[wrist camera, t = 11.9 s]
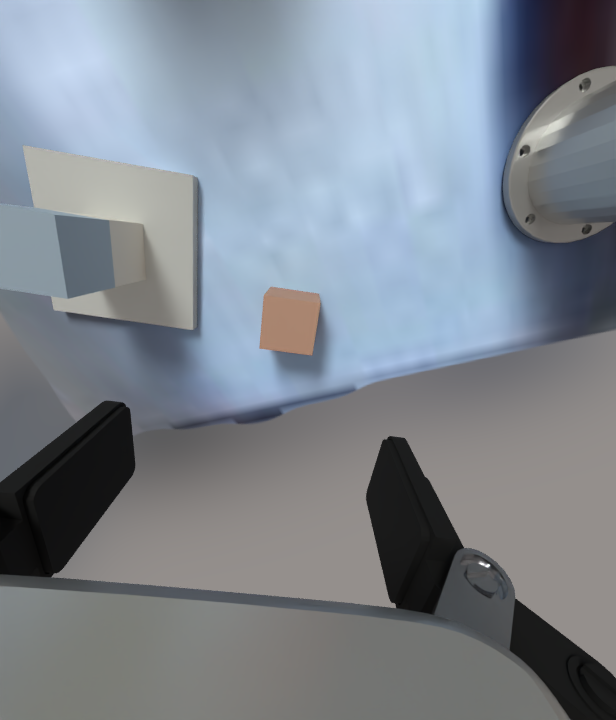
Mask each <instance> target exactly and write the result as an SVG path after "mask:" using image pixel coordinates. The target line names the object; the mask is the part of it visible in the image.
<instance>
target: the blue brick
mask: <svg viewBox="0 0 616 720" xmlns="http://www.w3.org/2000/svg"><path fill="white" fill-rule="evenodd" d="M0 288H1V289H8V290H14V291H20V292H27V293H33V294H40V295H46V296H52V297H59V298H65V299H69V298H74V297H78V296H82V295H86V294H90V293H94V292H99V291H103V290H107V289H111V288H115V279H114V269H113V258H112V247H111V236H110V226H109V220H104V219H98V218H93V217H87V216H81V215H75V214H70V213H64V212H58V211H53V210H47V209H41V208H34V207H26V206H18V205H9V204H1V203H0Z"/></svg>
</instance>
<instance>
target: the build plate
mask: <svg viewBox="0 0 616 720" xmlns="http://www.w3.org/2000/svg"><path fill="white" fill-rule="evenodd" d="M23 150H24V155H25V161H26V166H27V171H28V177H29V182H30V187H31V192H32V198H33V203H34V208H41V209H47V210H55V211H63V212H71V213H79V214H87V215H93V216H99V217H105V218H111V219H117V220H123V221H130V222H136V223H142V224H143V235H144V251H145V268H146V280H142V281H138V282H134V283H130V284H126V285H121V286H117V287H115V288H111V289H107V290H103V291H99V292H94V293H90V294H86V295H82V296H78V297H74V298H69V299H65V298H59V297H52V296H51V298H52V303H53V308H54V310H57V311H64V312H71V313H78V314H85V315H92V316H99V317H106V318H112V319H119V320H126V321H133V322H140V323H147V324H154V325H161V326H168V327H174V328H181V329H188V330H194V329H195V328H196V327H197V233H198V178H197V177H195V176H193V175H188V174H182V173H177V172H171V171H165V170H160V169H154V168H148V167H143V166H137V165H131V164H126V163H120V162H114V161H109V160H103V159H97V158H92V157H86V156H80V155H75V154H69V153H63V152H58V151H52V150H46V149H41V148H35V147H29V146H24V145H23Z"/></svg>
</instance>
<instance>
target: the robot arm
mask: <svg viewBox="0 0 616 720" xmlns="http://www.w3.org/2000/svg"><path fill="white" fill-rule="evenodd" d="M519 153H520V154H519ZM503 195H504V203H505V206H506V209H507V212H508V215H509V217H510V218H511V220H512V222H513V223H514V225H515V226H516V227H517V228H518V229H519V230H520V231H521V232H522V233H523V234H525V235H526V236H528V237H530V238H532V239H534V240H537V241H541V242H547V243H569V242H573V241H578V240H582V239H585V238H587V237H589V236H592V235H594V234H597V233H598V232H600V231H602V230H603V229H605V228H607V227H608V226H610V225H611V224H612V223H614V222H616V66H609V67H603V68H597V69H594V70H591V71H589V72H586V73H584V74H581V75H579V76H577V77H575V78H574V79H572V80H570V81H569V82H567V83H565V84H563V85H562V86H561V87H559V88H558V89H557V90H555V91H554V92H552V93H551V94H550V95H548V96H547V97H546V98H545V99H544V100H543V101H542V102H541V103H540V104H539V105H538V106H537V107H536V108H535V109H534V110H533V112H532V113H531V114H530V116H529V117H528V118H527V120H526V121H525V122H524V123H523V125H522V127H521V129H520V130H519V132H518V134H517V136H516V137H515V139H514V141H513V144H512V146H511V149H510V152H509V154H508V157H507V161H506V165H505V170H504V176H503ZM134 470H135V456H134V446H133V435H132V425H131V414H130V409H129V408H128V407H126V405H125V404H124V403H123V402H115V401H104V402H102V403H101V404H99V405H98V406H97V407H96V408H94V409H93V410H92V411H91V412H89V413H88V414H87V415H85V416H84V417H83V418H82V419H80V420H79V421H78V422H77V423H75V424H74V425H73V426H71V427H70V428H69V429H68V430H66V431H65V432H64V433H63V434H61V435H60V436H59V437H57V438H56V439H55V440H54V441H52V442H51V443H50V444H48V445H47V446H46V447H45V448H43V449H42V450H41V451H40V452H38V453H37V454H36V455H34V456H33V457H32V458H31V459H29V460H28V461H27V462H26V463H25V464H23V465H22V466H20V468H18V469H17V470H15V471H14V472H13V473H12V474H10V475H9V476H8V477H6V478H5V479H4V480H3V481H1V482H0V720H616V678H615V677H614V676H613V675H612V674H611V673H610V672H609V671H608V670H607V669H606V668H605V667H604V666H602V665H601V664H600V663H599V662H598V661H596V660H595V659H594V658H593V657H591V656H590V655H588V654H587V653H586V652H585V651H583V650H582V649H581V648H579V647H578V646H577V645H575V644H574V643H573V642H572V641H570V640H569V639H568V638H566V637H565V636H564V635H563V634H561V633H560V632H559V631H557V630H556V629H555V628H553V627H552V626H551V625H549V624H548V623H547V622H546V621H544V620H543V619H542V618H540V617H539V616H538V615H536V614H535V613H534V612H532V611H531V610H530V609H528V608H527V607H526V606H525V605H523V604H522V603H521V602H519V601H518V600H517V599H515V590H514V587H513V585H512V582H511V580H510V578H509V577H508V575H507V574H506V572H505V571H504V570H503V569H502V568H501V567H500V566H499V565H498V563H497V562H495V561H494V560H493V559H491V558H490V557H489V556H487V555H486V554H484V553H482V552H480V551H478V550H475V549H471V548H464V547H463V545H462V543H461V541H460V539H459V537H458V535H457V533H456V532H455V530H454V528H453V526H452V524H451V522H450V520H449V518H448V516H447V514H446V512H445V510H444V508H443V507H442V505H441V502H440V501H439V499H438V497H437V495H436V493H435V491H434V489H433V487H432V485H431V483H430V481H429V480H428V479H427V478H426V477H425V476H424V474H423V472H422V470H421V468H420V466H419V464H418V462H417V461H416V458H415V456H414V454H413V452H412V451H411V448H410V446H409V445H408V443H407V441H406V439H405V438H401V437H393V436H390V437H388V439H387V440H383V441H382V444H381V448H380V451H379V454H378V457H377V461H376V464H375V467H374V470H373V473H372V476H371V480H370V483H369V486H368V489H367V494H366V501H367V506H368V510H369V514H370V518H371V523H372V527H373V531H374V535H375V540H376V544H377V548H378V553H379V557H380V561H381V566H382V570H383V574H384V578H385V582H386V587H387V591H388V595H389V599H390V601H391V602H392V603H395V604H396V608H388V607H379V606H370V605H361V604H353V603H343V602H332V601H322V600H311V599H300V598H290V597H289V598H288V597H279V596H268V595H257V594H245V593H234V592H223V591H211V590H199V589H187V588H175V587H165V586H153V585H140V584H128V583H115V582H103V581H91V580H79V579H66V578H65V579H64V578H51V577H52V575H53V574H54V573H58V572H60V571H61V570H62V569H63V568H64V566H65V565H66V564H67V562H68V561H69V560H70V558H71V557H72V556H73V554H74V553H75V552H76V550H77V549H78V548H79V546H80V545H81V544H82V542H83V541H84V539H85V538H86V537H87V536H88V534H89V533H90V532H91V530H92V529H93V528H94V526H95V525H96V523H97V522H98V521H99V519H100V518H101V517H102V515H103V514H104V513H105V511H106V510H107V509H108V507H109V506H110V505H111V503H112V502H113V501H114V499H115V498H116V497H117V495H118V494H119V493H120V491H121V490H122V489H123V487H124V486H125V484H126V483H127V482H128V481H129V479H130V478H131V477H132V475H133V473H134Z"/></svg>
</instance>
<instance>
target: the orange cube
mask: <svg viewBox="0 0 616 720" xmlns="http://www.w3.org/2000/svg"><path fill="white" fill-rule="evenodd" d="M320 304H321V303H320V298H319V294H317V293H310V292H303V291H297V290H290V289H283V288H276V287H270V288H269V290H268V291H267V292H266V293H265V295H264V301H263V313H262V325H261V337H260V349H267V350H275V351H282V352H290V353H297V354H304V355H312V354H313V348H314V341H315V335H316V329H317V323H318V317H319V310H320Z"/></svg>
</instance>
